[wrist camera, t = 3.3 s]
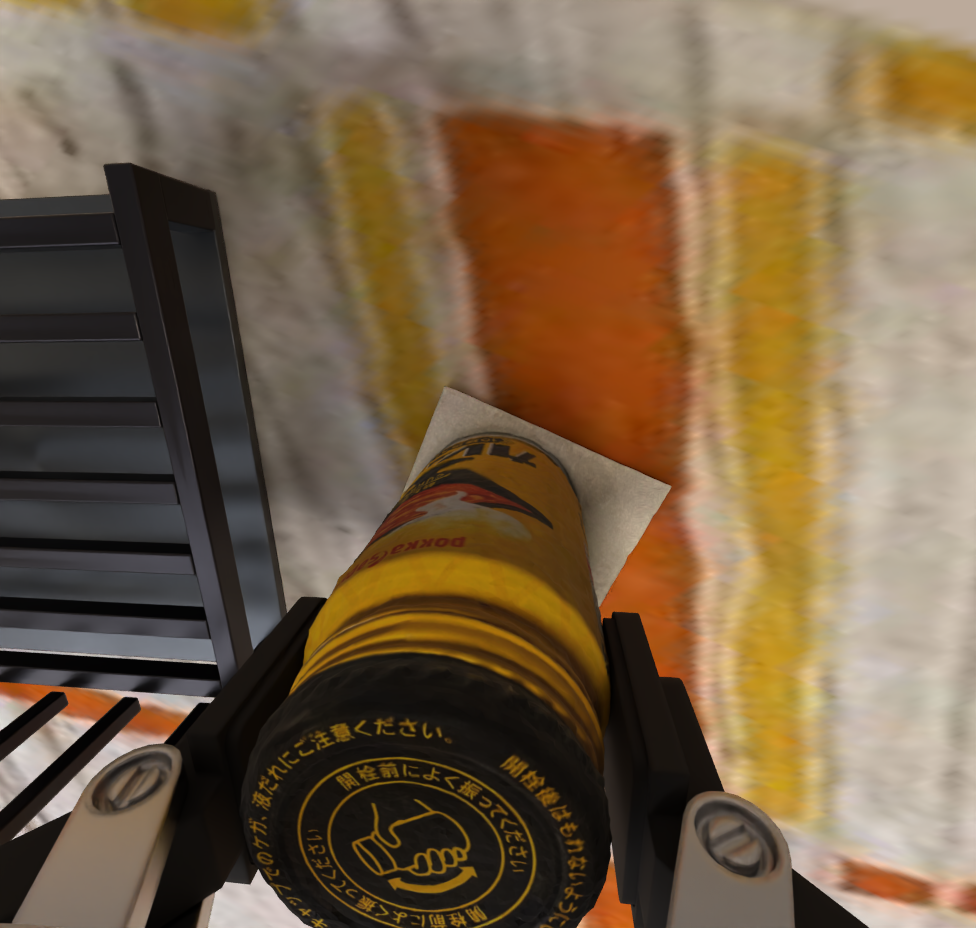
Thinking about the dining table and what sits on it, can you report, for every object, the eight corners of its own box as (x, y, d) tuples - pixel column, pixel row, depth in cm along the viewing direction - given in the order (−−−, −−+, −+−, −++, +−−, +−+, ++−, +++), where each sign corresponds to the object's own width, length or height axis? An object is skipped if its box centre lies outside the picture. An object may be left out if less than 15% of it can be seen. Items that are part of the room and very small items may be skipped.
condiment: (445, 384, 17) (234, 553, 5) (670, 484, 17) (938, 855, 5) (377, 556, 19) (130, 931, 8) (576, 642, 19) (624, 1130, 8)
